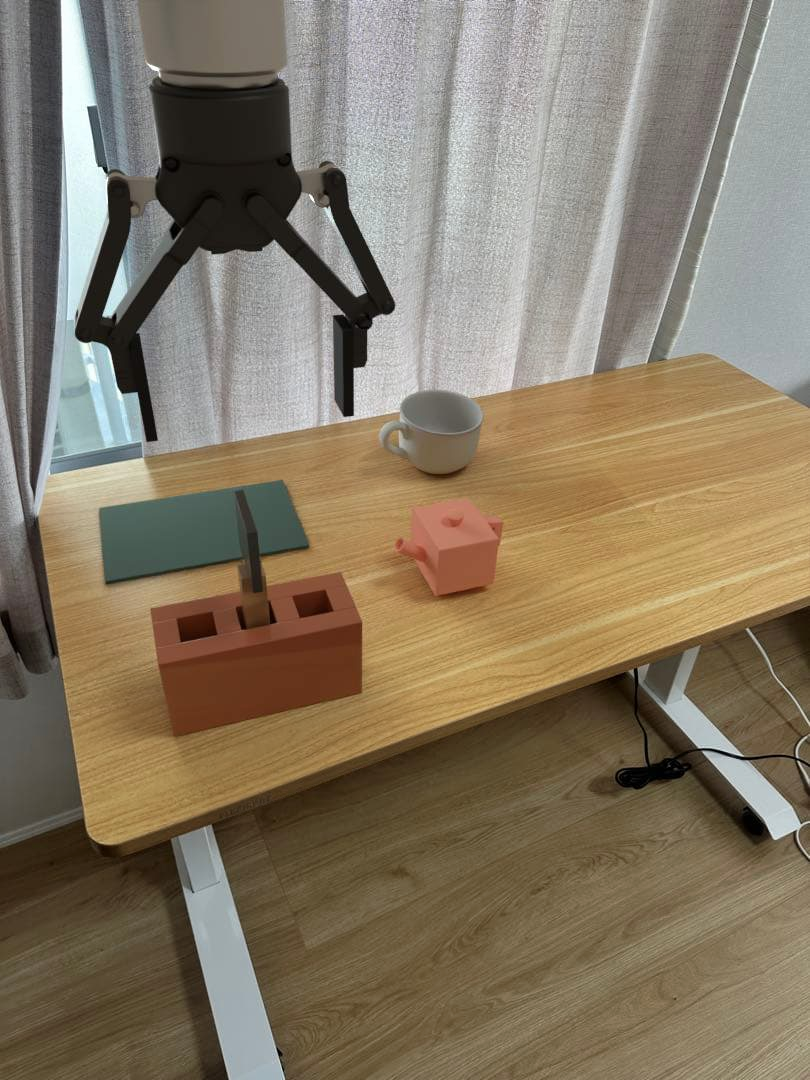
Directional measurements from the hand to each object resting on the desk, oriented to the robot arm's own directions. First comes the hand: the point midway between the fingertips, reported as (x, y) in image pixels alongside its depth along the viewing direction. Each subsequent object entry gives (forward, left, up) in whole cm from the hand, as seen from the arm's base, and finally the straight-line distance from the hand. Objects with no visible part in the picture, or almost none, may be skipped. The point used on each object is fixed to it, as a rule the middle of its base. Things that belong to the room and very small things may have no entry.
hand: (250, 420), depth 57 cm
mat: (-3, +27, -28) cm, 39 cm away
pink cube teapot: (+21, +11, -28) cm, 37 cm away
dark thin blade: (-1, +1, -28) cm, 28 cm away
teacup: (+27, +33, -29) cm, 51 cm away
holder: (-1, +1, -28) cm, 28 cm away
